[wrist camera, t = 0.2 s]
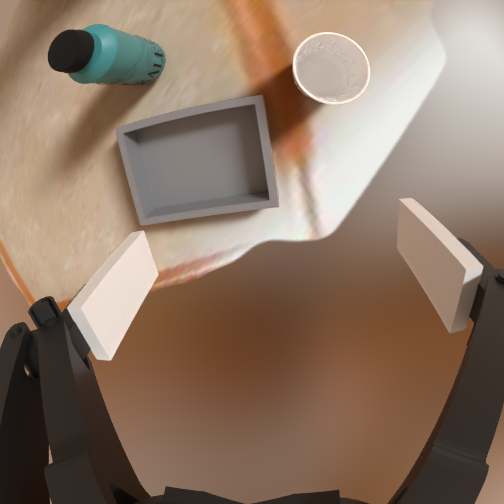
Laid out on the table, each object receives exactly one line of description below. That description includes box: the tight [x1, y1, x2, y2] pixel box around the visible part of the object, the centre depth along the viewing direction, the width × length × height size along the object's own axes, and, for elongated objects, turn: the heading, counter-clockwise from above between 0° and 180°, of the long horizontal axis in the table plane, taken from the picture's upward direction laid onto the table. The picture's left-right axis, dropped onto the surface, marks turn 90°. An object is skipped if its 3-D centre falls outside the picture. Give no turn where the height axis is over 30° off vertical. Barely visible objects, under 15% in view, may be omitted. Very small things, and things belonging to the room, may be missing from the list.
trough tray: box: [115, 95, 279, 226], centre depth 38 cm, size 14×19×5 cm
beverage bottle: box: [48, 24, 165, 85], centre depth 26 cm, size 6×7×20 cm
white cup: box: [292, 32, 370, 105], centre depth 30 cm, size 8×8×10 cm
